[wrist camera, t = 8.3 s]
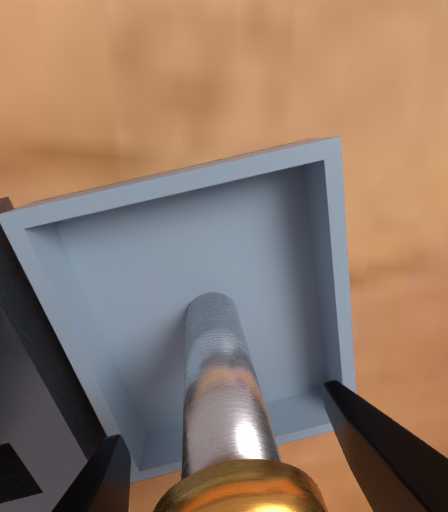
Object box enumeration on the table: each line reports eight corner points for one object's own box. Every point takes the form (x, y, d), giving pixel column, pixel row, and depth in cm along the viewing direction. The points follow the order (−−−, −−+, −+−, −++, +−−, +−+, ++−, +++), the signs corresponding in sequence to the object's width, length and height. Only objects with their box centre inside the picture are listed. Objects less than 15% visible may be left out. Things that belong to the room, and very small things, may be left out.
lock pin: (184, 355, 14) (173, 658, 6) (163, 290, 13) (111, 559, 4) (256, 337, 14) (351, 610, 6) (242, 271, 13) (338, 498, 5)
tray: (139, 434, 16) (131, 483, 14) (35, 201, 12) (-4, 215, 9) (334, 385, 17) (358, 424, 14) (310, 138, 12) (340, 136, 10)
